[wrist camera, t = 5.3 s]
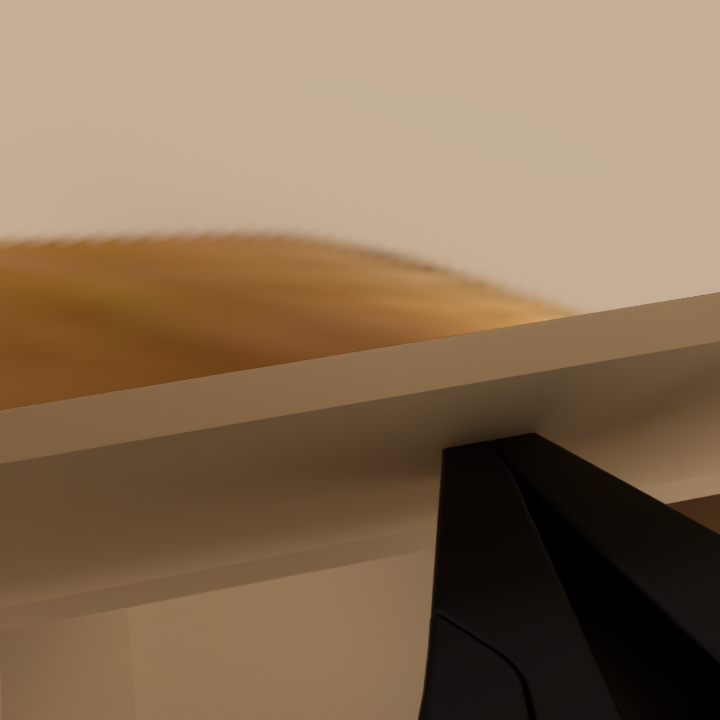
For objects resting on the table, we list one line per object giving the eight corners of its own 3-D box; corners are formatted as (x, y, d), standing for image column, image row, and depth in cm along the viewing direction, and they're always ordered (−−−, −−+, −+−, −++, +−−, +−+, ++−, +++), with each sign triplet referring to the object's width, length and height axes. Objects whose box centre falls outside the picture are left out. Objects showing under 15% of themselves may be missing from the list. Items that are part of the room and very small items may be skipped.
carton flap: (868, 444, 13) (1349, 233, 7) (-54, 618, 11) (-549, 557, 5) (855, 421, 13) (1308, 196, 7) (-51, 589, 11) (-524, 496, 5)
